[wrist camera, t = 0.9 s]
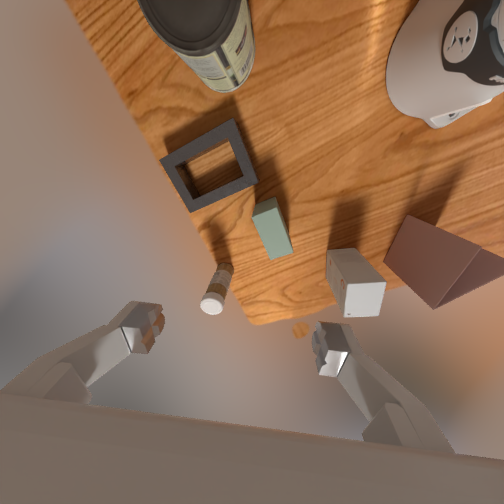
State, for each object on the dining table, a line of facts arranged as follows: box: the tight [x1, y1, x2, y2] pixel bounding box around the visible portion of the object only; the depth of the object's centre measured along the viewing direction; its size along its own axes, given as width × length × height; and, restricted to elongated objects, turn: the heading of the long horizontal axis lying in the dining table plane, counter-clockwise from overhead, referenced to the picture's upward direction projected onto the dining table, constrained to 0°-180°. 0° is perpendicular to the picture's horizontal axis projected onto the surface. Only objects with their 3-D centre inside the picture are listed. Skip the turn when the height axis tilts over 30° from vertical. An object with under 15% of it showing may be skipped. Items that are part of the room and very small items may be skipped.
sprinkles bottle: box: [200, 263, 234, 315], centre depth 42 cm, size 5×5×13 cm
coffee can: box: [137, 0, 255, 93], centre depth 22 cm, size 10×10×14 cm
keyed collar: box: [159, 118, 260, 213], centre depth 35 cm, size 15×10×4 cm
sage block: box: [252, 197, 293, 260], centre depth 37 cm, size 4×9×9 cm, turn 23°
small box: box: [326, 248, 387, 317], centre depth 38 cm, size 8×6×13 cm
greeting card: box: [383, 214, 504, 310], centre depth 33 cm, size 11×7×15 cm, turn 140°
